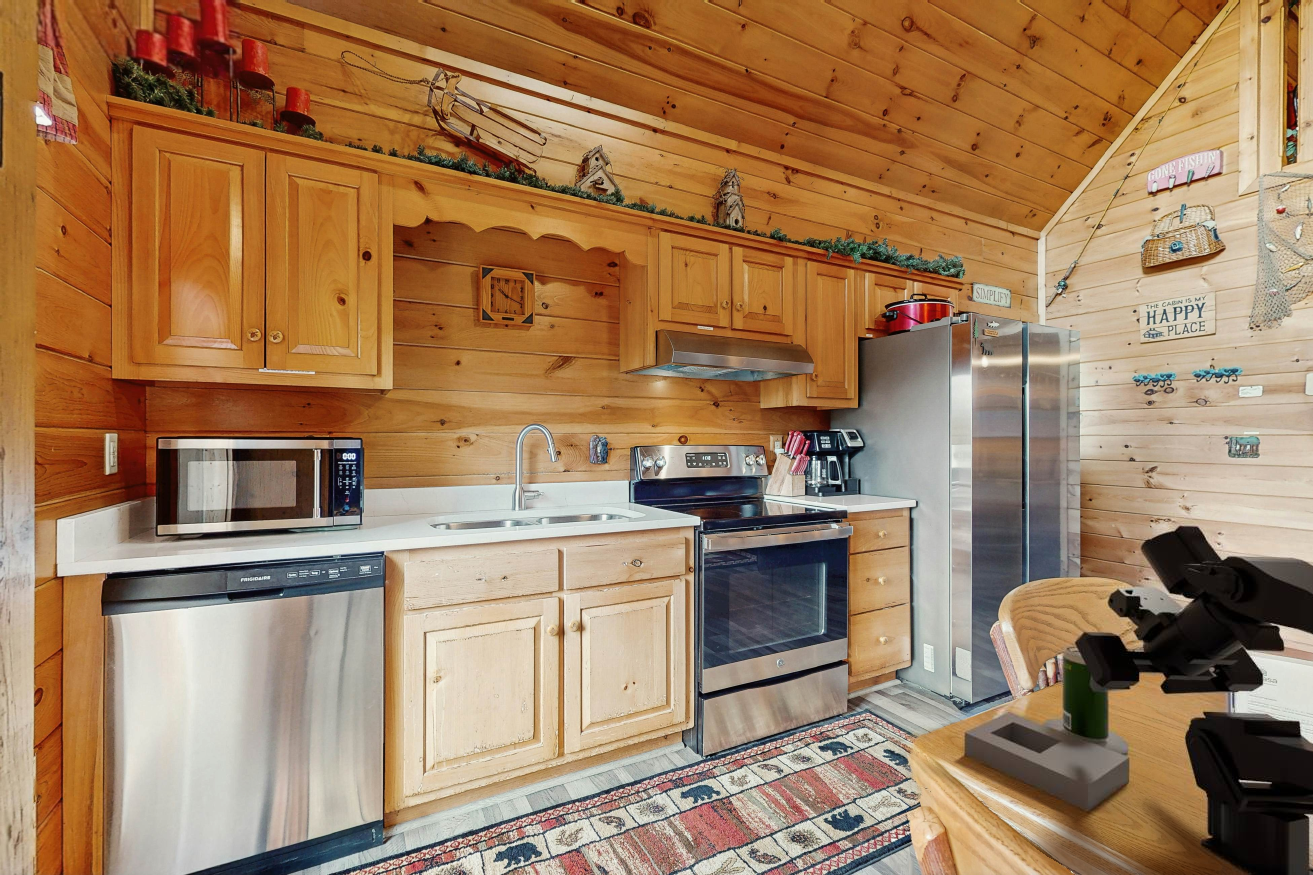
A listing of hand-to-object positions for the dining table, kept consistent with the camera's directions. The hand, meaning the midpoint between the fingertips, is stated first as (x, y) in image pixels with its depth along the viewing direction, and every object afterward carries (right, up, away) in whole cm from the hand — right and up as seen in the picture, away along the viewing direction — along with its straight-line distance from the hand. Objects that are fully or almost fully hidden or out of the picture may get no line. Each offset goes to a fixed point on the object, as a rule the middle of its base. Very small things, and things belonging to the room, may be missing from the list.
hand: (1127, 689), depth 76 cm
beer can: (0, -10, +8) cm, 13 cm away
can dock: (-12, -10, +1) cm, 15 cm away
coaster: (0, -11, +8) cm, 13 cm away
